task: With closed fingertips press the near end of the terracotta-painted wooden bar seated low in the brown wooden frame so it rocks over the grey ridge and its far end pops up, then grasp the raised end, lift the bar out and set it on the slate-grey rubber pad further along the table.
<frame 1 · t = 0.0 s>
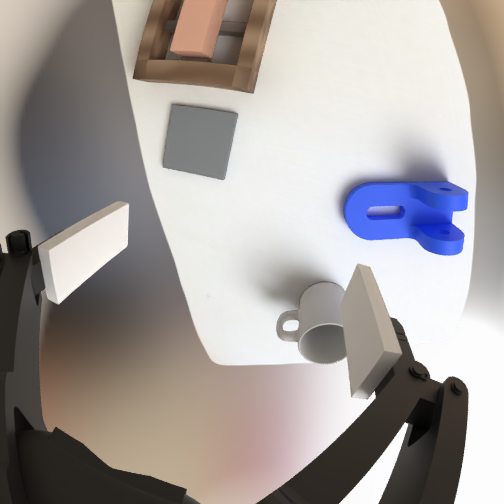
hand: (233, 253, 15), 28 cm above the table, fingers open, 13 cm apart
rubber pad: (199, 140, 40), on the table
terracotta block: (206, 22, 30), point 3 cm above the table, touching brown wooden frame
mug: (314, 302, 49), on the table
brown wooden frame: (212, 27, 32), on the table
bracket: (398, 207, 39), on the table
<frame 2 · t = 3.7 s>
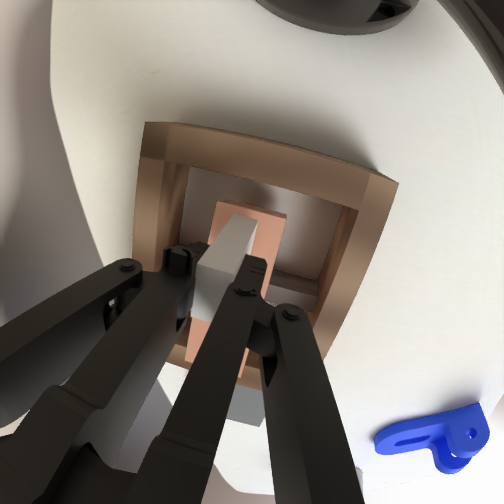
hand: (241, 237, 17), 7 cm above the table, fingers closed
rubber pad: (231, 393, 33), on the table
terracotta block: (239, 279, 23), point 3 cm above the table, tilted 12°, touching gripper, brown wooden frame
brown wooden frame: (245, 265, 25), on the table
bracket: (425, 426, 32), on the table
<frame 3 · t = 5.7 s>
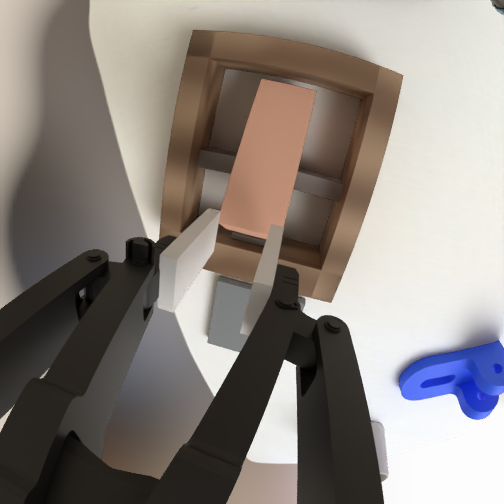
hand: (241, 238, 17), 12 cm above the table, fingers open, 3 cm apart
rubber pad: (253, 320, 34), on the table
terracotta block: (270, 168, 24), point 3 cm above the table, tilted 27°, touching brown wooden frame
mug: (353, 432, 43), on the table
brown wooden frame: (273, 164, 26), on the table
bracket: (449, 368, 34), on the table
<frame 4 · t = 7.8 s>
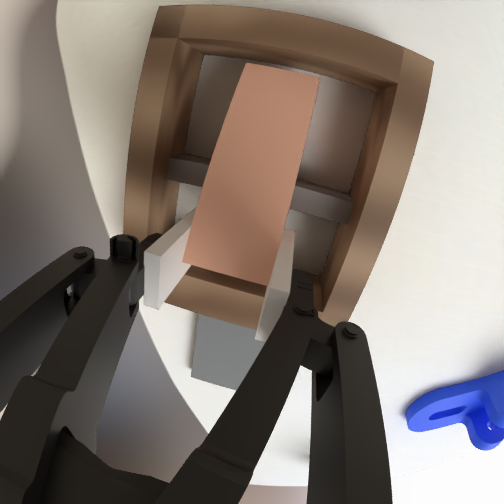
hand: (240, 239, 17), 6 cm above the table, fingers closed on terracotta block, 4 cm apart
rubber pad: (242, 356, 29), on the table
terracotta block: (258, 181, 18), point 3 cm above the table, tilted 27°, touching gripper, brown wooden frame
brown wooden frame: (263, 174, 21), on the table
bracket: (459, 397, 28), on the table
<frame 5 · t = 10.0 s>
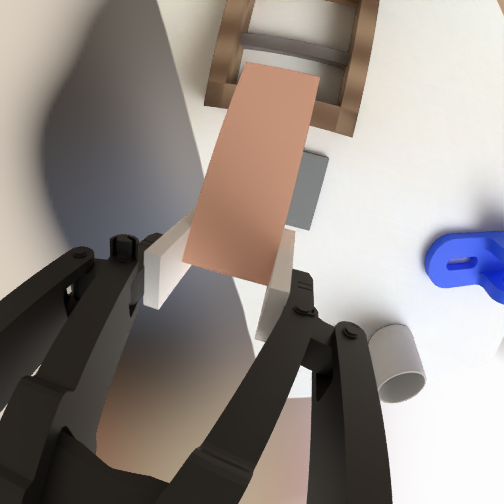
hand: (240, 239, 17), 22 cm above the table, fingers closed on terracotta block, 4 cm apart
rubber pad: (281, 184, 37), on the table
terracotta block: (258, 180, 18), point 19 cm above the table, tilted 29°, touching gripper
mug: (381, 341, 46), on the table
brown wooden frame: (295, 47, 28), on the table
bracket: (469, 255, 36), on the table
when the fingers open (8 cm above the table, at t = 12.6 s): terracotta block drops 4 cm, resting on rubber pad.
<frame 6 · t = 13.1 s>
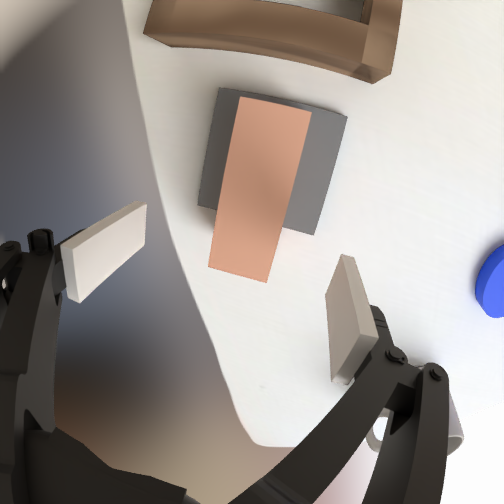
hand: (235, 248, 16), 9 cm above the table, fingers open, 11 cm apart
rubber pad: (269, 159, 22), on the table
terracotta block: (263, 182, 22), point 1 cm above the table, touching rubber pad
mug: (403, 387, 31), on the table
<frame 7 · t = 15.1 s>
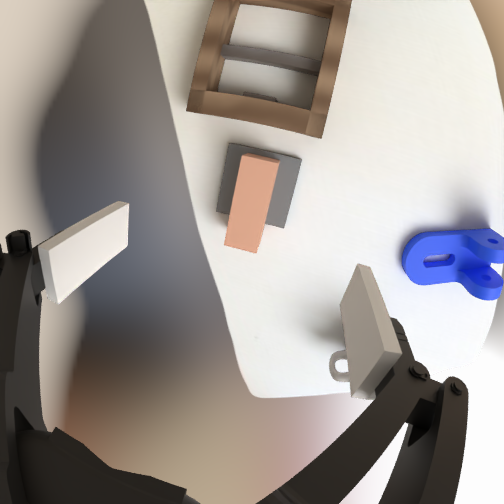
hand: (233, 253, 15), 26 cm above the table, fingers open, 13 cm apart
rubber pad: (258, 184, 40), on the table
terracotta block: (254, 198, 39), point 1 cm above the table, touching rubber pad
mug: (359, 340, 48), on the table
brown wooden frame: (272, 57, 32), on the table
bracket: (447, 253, 39), on the table
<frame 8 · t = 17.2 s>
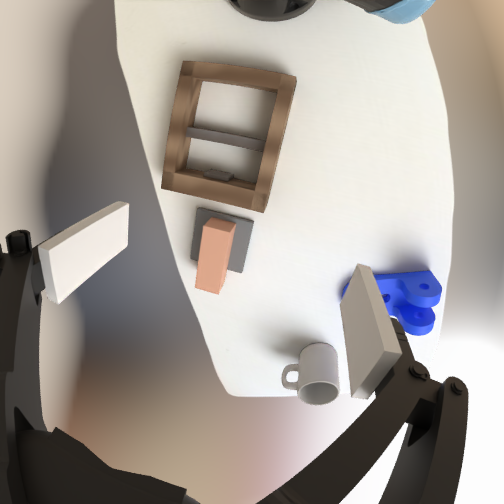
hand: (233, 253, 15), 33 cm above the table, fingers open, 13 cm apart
rubber pad: (221, 239, 51), on the table
terracotta block: (218, 250, 51), point 1 cm above the table, touching rubber pad
mug: (310, 355, 60), on the table
brown wooden frame: (229, 135, 43), on the table
bracket: (386, 291, 51), on the table
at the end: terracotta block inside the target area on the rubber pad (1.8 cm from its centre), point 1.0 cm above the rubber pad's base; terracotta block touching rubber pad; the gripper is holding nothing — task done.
